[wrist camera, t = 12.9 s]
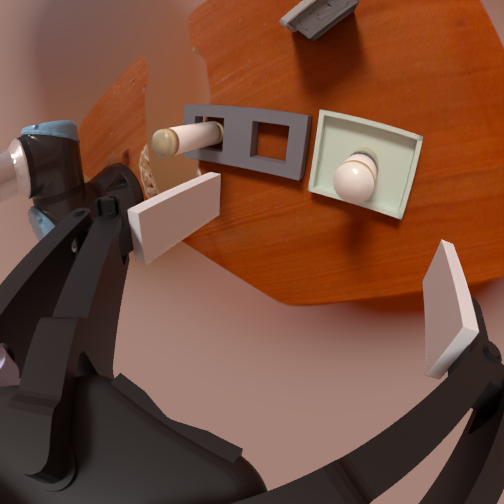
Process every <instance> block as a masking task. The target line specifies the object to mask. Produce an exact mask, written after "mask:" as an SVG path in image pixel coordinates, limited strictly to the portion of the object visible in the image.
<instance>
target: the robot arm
mask: <svg viewBox="0 0 504 504" xmlns="http://www.w3.org/2000/svg"><path fill="white" fill-rule="evenodd" d="M79 143H80V140H79V139H78V133H77V126H76V124H75V123H74V122H73V121H70V120H63V121H53V122H47V123H41V124H38V125H32V126H28V127H25V128H23V129H22V131H21V137H19V138H16V139H14V140H13V141H12V143H11V145H10V147H9V149H8V150H7V151H5V152H3V153H0V205H1V204H3V203H5V202H6V201H8V200H10V199H12V198H14V197H16V196H17V197H20V198H22V199H24V200H28V199H30V198H33V202H34V206H32V207H31V209H29V211H28V215H29V220H30V224H31V226H32V228H33V231H34V233H35V235H36V237H37V238H38V240H39V243H38V244H37V245H36V246H35V247H34V248H33V249H32V250H31V251H30V252H29V253H28V254H27V255H26V256H25V257H24V258H23V259H22V261H20V263H19V264H18V265H17V266H16V267H15V268H14V269H13V271H12V272H11V273H10V274H9V275H8V276H7V277H6V279H5V280H4V281H3V282H2V283H1V285H0V504H370V503H371V502H372V501H373V500H374V499H375V498H377V497H378V496H380V495H381V494H382V493H383V492H385V491H386V490H388V489H389V488H390V487H392V486H393V485H394V484H395V483H397V482H398V481H399V480H400V479H402V478H403V477H404V476H405V475H406V474H407V473H408V472H410V471H411V470H412V469H413V468H414V467H416V466H417V465H418V464H419V463H420V462H421V461H422V460H423V459H424V458H425V457H426V456H428V455H429V454H430V453H431V452H432V451H433V450H434V449H435V448H436V446H438V445H439V444H440V443H441V442H442V440H443V439H444V438H445V437H446V436H447V435H448V434H449V433H450V432H451V431H452V430H453V428H454V427H455V426H456V425H457V424H458V422H459V421H460V420H461V419H462V418H463V417H464V415H465V414H466V413H467V412H468V411H469V409H470V408H472V409H473V412H472V414H471V416H470V418H469V420H468V423H467V425H466V427H465V429H464V431H463V433H462V435H461V437H460V439H459V441H458V443H457V445H456V447H455V449H454V450H453V452H452V454H451V456H450V457H449V459H448V461H447V463H446V464H445V466H444V468H443V469H442V471H441V472H440V474H439V476H438V477H437V479H436V480H435V482H434V483H433V485H432V486H431V488H430V489H429V490H428V492H427V493H426V495H425V496H424V497H423V499H422V500H421V501H420V503H419V504H497V502H498V500H499V498H500V496H501V494H502V492H503V489H504V365H503V364H502V363H501V361H502V358H501V354H500V351H499V349H498V348H497V347H496V345H494V344H493V343H492V342H490V341H489V340H488V335H487V331H486V327H485V323H484V319H483V316H482V311H481V307H480V305H479V304H478V302H477V300H476V299H475V298H474V297H471V296H470V293H469V290H468V286H467V283H466V280H465V277H464V274H463V271H462V268H461V265H460V262H459V259H458V256H457V253H456V251H455V248H454V246H453V244H451V243H449V242H446V241H444V240H441V242H440V244H439V246H438V249H437V251H436V253H435V256H434V258H433V260H432V262H431V265H430V267H429V269H428V271H427V273H426V275H425V277H424V279H423V281H422V282H423V293H424V307H425V338H426V339H425V341H426V342H425V343H426V346H425V347H426V348H425V375H426V376H429V377H433V378H436V379H440V378H441V377H442V376H443V375H444V374H445V372H447V371H448V377H447V378H446V379H445V380H444V381H443V382H442V383H441V384H440V385H439V386H438V387H437V388H436V389H435V390H433V391H432V392H431V393H430V394H429V395H428V396H427V397H426V398H425V399H423V400H422V401H421V402H420V403H419V404H418V405H416V406H415V407H414V408H413V409H412V410H410V411H409V412H408V413H407V414H405V415H404V416H403V417H402V418H400V419H399V420H398V421H397V422H395V423H394V424H393V425H391V426H390V427H388V428H387V429H385V430H384V431H383V432H381V433H380V434H378V435H377V436H375V437H374V438H372V439H371V440H369V441H368V442H367V443H365V444H364V445H362V446H360V447H359V448H357V449H355V450H354V451H352V452H350V453H349V454H347V455H345V456H344V457H342V458H340V459H338V460H335V461H333V462H331V463H329V464H328V465H326V466H324V467H322V468H320V469H318V470H316V471H314V472H312V473H310V474H308V475H305V476H303V477H301V478H299V479H297V480H294V481H292V482H290V483H287V484H285V485H283V486H280V487H278V488H276V489H273V490H270V491H267V488H266V486H265V484H264V481H263V480H262V478H261V476H260V474H259V473H258V472H257V471H256V469H255V468H254V467H253V466H252V465H251V464H250V463H249V462H248V461H247V460H246V459H245V458H243V457H242V456H241V455H242V450H243V449H242V448H240V447H238V446H236V445H234V444H232V443H230V442H228V441H226V440H224V439H222V438H219V437H218V436H216V435H214V434H212V433H210V432H208V431H206V430H202V429H199V428H196V427H192V426H189V425H186V424H183V423H180V422H177V421H174V420H171V419H169V418H168V417H166V415H165V414H164V413H162V411H161V410H160V409H159V408H158V407H157V406H156V404H155V403H154V402H153V401H152V399H151V398H150V397H149V396H148V395H147V393H146V392H145V391H144V390H142V389H141V388H139V387H138V386H137V385H135V384H134V383H133V382H131V381H130V380H129V379H128V378H126V377H125V376H124V375H122V374H121V373H120V374H119V375H118V376H117V377H116V378H115V379H114V375H113V358H114V349H115V340H116V333H117V325H118V319H119V312H120V306H121V300H122V294H123V289H124V284H125V279H126V274H127V269H128V265H129V253H130V252H131V251H133V250H134V254H135V260H136V261H138V262H140V263H142V264H144V265H147V264H149V263H150V262H151V261H153V260H154V259H155V258H157V257H158V256H160V255H161V254H163V253H164V252H165V251H167V250H168V249H170V248H171V247H172V246H174V245H175V244H177V243H178V242H180V241H181V240H183V239H184V238H186V237H187V236H189V235H190V234H191V233H193V232H194V231H196V230H197V229H199V228H200V227H202V226H203V225H205V224H206V223H208V222H209V221H211V220H212V219H214V218H215V217H217V216H218V215H219V212H220V183H221V174H218V173H213V172H209V173H207V174H204V175H202V176H199V177H197V178H195V179H192V180H190V181H188V182H185V183H183V184H181V185H179V186H176V187H174V188H172V189H170V190H167V191H165V192H163V193H161V194H159V195H157V196H154V197H152V198H150V199H148V200H146V201H144V202H143V195H142V191H141V188H140V185H139V183H138V180H137V178H136V177H135V175H134V174H133V172H132V171H131V170H130V169H129V168H128V167H127V166H125V165H123V164H120V163H116V164H113V165H110V166H107V167H106V168H104V169H103V170H102V171H101V172H99V173H98V174H97V175H96V176H95V177H94V178H92V179H91V180H90V181H89V182H87V183H84V177H83V170H82V163H81V155H80V147H79ZM74 249H76V250H75V251H74V252H73V250H74ZM1 343H2V345H1ZM20 378H21V379H20Z"/></svg>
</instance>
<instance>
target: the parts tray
mask: <svg viewBox="0 0 504 504" xmlns="http://www.w3.org/2000/svg"><path fill="white" fill-rule="evenodd" d="M422 140H423V137H422V136H420V135H417V134H415V133H412V132H409V131H405V130H402V129H399V128H396V127H392V126H389V125H386V124H382V123H378V122H375V121H371V120H367V119H363V118H359V117H355V116H351V115H346V114H341V113H337V112H332V111H327V110H320V112H319V119H318V127H317V134H316V141H315V148H314V155H313V162H312V168H311V174H310V181H309V187H308V191H310V192H314V193H317V194H321V195H325V196H328V197H332V198H335V199H338V200H342V201H344V200H343V199H341V198H340V197H339V196H338V195H337V193H336V192H335V189H334V186H333V176H334V173H335V171H336V170H337V169H338V168H339V166H341V165H342V164H343V163H344V161H345V160H346V159H347V158H348V157H349V156H350V155H351V154H352V153H353V152H354V151H355V150H357V149H359V148H368V149H371V150H372V151H373V152H375V154H376V155H377V157H378V160H379V166H378V171H377V176H376V180H375V185H374V190H373V193H372V195H371V196H370V197H369V198H368V199H367V200H366V201H364V202H362V203H357V204H355V205H358V206H362V207H365V208H368V209H371V210H374V211H377V212H380V213H383V214H386V215H389V216H392V217H395V218H398V219H402V216H403V213H404V210H405V207H406V203H407V200H408V196H409V193H410V189H411V186H412V182H413V178H414V174H415V170H416V166H417V162H418V158H419V154H420V149H421V144H422ZM345 202H346V201H345ZM352 204H353V203H352Z"/></svg>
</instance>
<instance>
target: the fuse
mask: <svg viewBox="0 0 504 504" xmlns="http://www.w3.org/2000/svg"><path fill="white" fill-rule="evenodd" d="M223 132H224V125H223V124H222V123H221V122H220V121H209V122H202V123H195V124H189V125H183V126H177V127H172V128H166V129H162V130H158V131H156V132H155V134H154V135H153V138H152V148H153V151H154V153H155V154H156V155H157V156H158V157H159V158H162V159H165V158H168V157H171V156H175V155H178V154H181V153H185V152H188V151H192V150H195V149H199V148H202V147H206V146H210V145H214V144H218V143H221V142H222V141H223Z"/></svg>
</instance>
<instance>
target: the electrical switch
mask: <svg viewBox="0 0 504 504" xmlns="http://www.w3.org/2000/svg"><path fill="white" fill-rule="evenodd" d="M358 3H359V1H358V0H303V1H302V2H300V3H299V4H298V5H297V6H295V7H294V8H293V9H292V10H291V11H289V12H288V13H287V14H286V15H285V16H284V17H282V18H281V20H280V21H279V23H280V24H281V25H282V26H284V27H285V28H286V27H287V28H288V29H290V30H291V31H292V32H295V31H297V30H298V31H299V32H301V33H302V34H303V35H304V36H306V37H307V38H308V39H310V40H311V41H315V40H316V39H318V38H319V37H320V36H321V35H323V34H324V33H325V32H326V31H328V30H329V29H330V28H332V27H333V26H334V25H336V24H337V23H338V22H340V21H341V20H342V19H344V18H345V17H346V16H348V15H349V14H350V13H352V12H353V11H354V10H355V8H356V6H357V5H358ZM351 9H352V10H353V11H352V10H351ZM338 17H339V18H338Z"/></svg>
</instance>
